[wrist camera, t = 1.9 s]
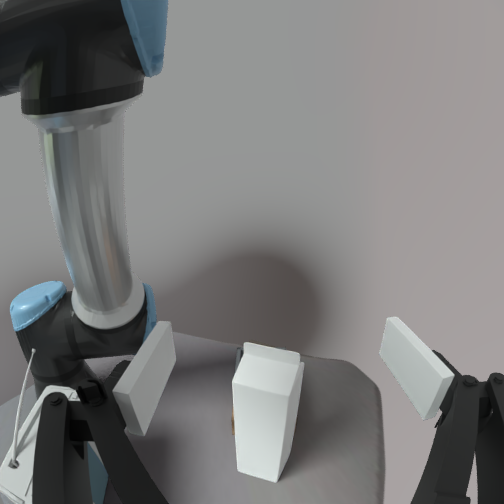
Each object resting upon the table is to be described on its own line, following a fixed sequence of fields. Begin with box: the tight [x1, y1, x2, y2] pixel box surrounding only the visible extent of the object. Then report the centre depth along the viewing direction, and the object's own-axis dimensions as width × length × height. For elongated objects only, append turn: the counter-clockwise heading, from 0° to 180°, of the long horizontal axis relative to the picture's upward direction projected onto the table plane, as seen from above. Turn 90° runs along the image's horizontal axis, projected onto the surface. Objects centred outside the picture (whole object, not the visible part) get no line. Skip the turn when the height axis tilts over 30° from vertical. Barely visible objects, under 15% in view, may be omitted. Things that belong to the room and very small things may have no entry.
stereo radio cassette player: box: [0, 349, 109, 504], centre depth 18 cm, size 21×8×20 cm, turn 8°
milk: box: [232, 342, 304, 483], centre depth 28 cm, size 6×6×22 cm
